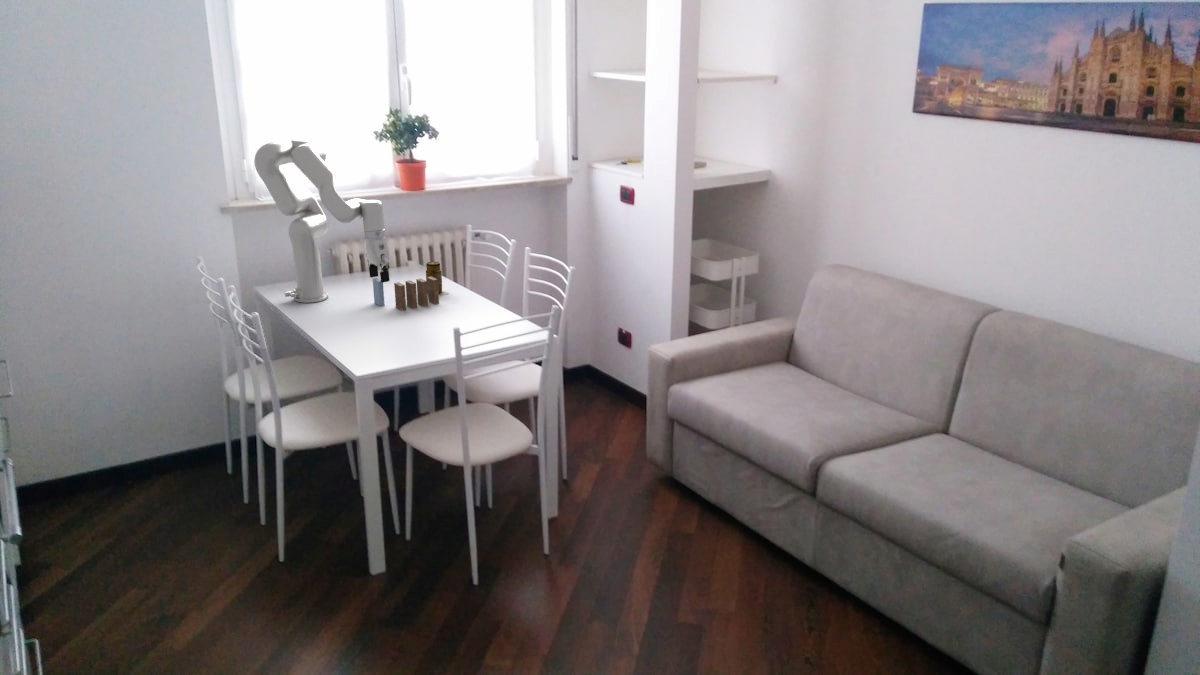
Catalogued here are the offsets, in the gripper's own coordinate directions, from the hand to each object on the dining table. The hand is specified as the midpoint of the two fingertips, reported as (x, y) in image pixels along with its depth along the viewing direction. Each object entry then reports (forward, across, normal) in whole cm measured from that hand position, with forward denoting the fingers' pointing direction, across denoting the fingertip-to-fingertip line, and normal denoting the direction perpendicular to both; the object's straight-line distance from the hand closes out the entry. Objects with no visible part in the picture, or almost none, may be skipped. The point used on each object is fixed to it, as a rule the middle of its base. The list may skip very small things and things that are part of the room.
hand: (379, 279), depth 342 cm
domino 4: (+10, -9, -12) cm, 18 cm away
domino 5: (+10, -9, -17) cm, 22 cm away
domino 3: (+10, -9, -8) cm, 16 cm away
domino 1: (+10, +1, +1) cm, 10 cm away
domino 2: (+10, -9, -3) cm, 14 cm away
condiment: (+10, +2, -23) cm, 26 cm away
